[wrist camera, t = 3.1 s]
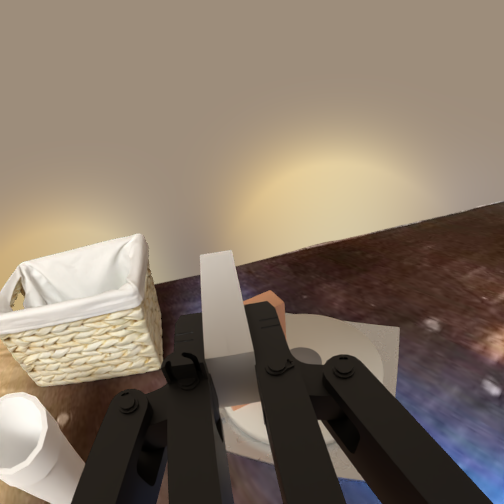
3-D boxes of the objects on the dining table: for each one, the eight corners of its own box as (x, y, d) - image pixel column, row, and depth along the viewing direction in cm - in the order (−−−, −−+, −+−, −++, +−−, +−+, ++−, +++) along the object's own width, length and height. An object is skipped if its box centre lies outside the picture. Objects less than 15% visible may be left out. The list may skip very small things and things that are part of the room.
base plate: (399, 329, 43) (400, 322, 42) (380, 483, 24) (383, 479, 23) (246, 309, 52) (245, 302, 51) (170, 431, 33) (167, 425, 32)
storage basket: (30, 393, 37) (-21, 319, 30) (50, 327, 51) (18, 260, 44) (172, 376, 41) (138, 288, 33) (168, 306, 55) (146, 229, 47)
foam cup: (46, 522, 19) (-33, 471, 13) (45, 459, 27) (-18, 396, 21) (117, 521, 22) (45, 474, 15) (108, 453, 29) (52, 387, 23)
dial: (316, 306, 49) (315, 223, 42) (412, 385, 33) (443, 294, 26) (195, 361, 42) (169, 275, 35) (272, 480, 26) (260, 412, 19)
